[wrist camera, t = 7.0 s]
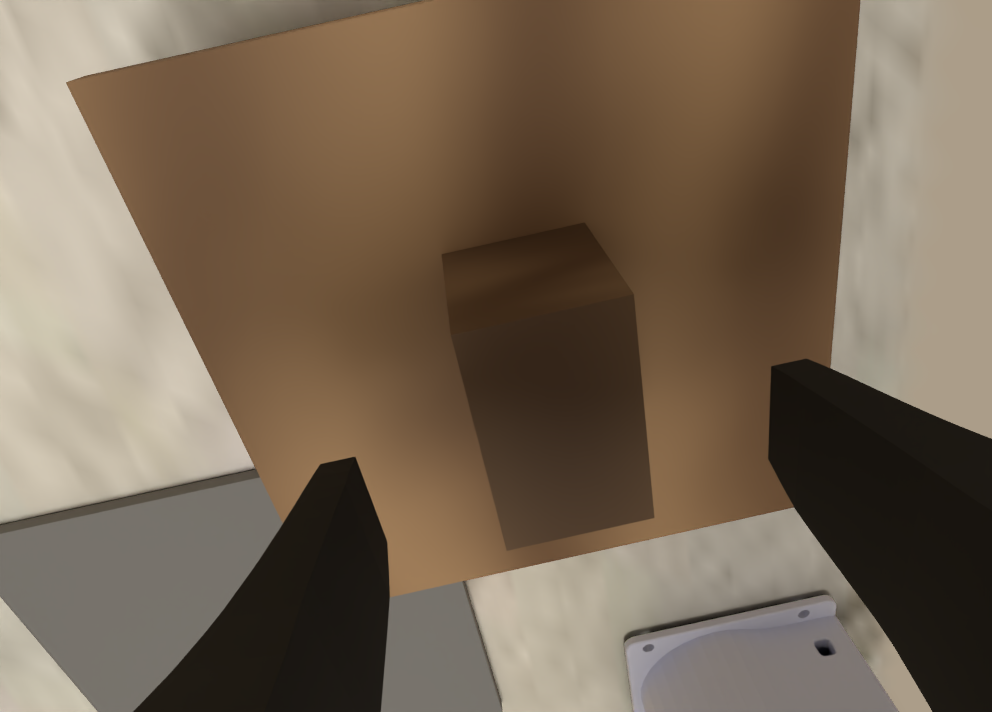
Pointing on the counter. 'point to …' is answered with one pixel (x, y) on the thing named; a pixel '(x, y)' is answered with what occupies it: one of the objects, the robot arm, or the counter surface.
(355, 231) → the lid
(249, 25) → the counter surface
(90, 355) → the counter surface
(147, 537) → the mat
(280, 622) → the robot arm
